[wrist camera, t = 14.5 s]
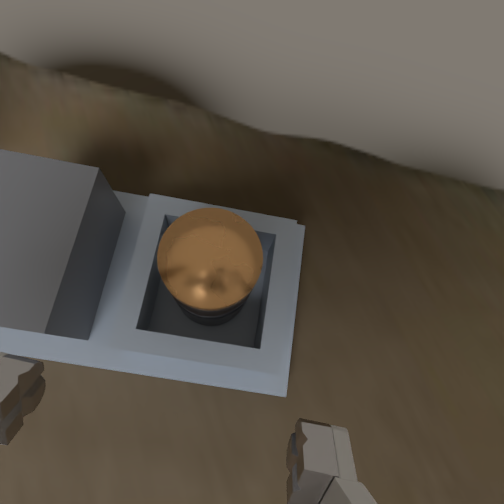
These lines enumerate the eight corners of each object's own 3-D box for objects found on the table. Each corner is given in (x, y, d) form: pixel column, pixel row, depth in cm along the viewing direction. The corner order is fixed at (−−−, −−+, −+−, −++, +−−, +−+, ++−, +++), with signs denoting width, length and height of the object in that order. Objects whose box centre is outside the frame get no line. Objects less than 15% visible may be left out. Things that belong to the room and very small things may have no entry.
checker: (300, 232, 27) (331, 187, 20) (281, 394, 23) (311, 410, 16) (43, 185, 26) (-21, 120, 19) (-20, 347, 22) (-129, 342, 15)
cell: (252, 262, 24) (269, 217, 17) (241, 331, 23) (255, 316, 15) (184, 250, 24) (170, 199, 16) (168, 319, 22) (145, 298, 15)
